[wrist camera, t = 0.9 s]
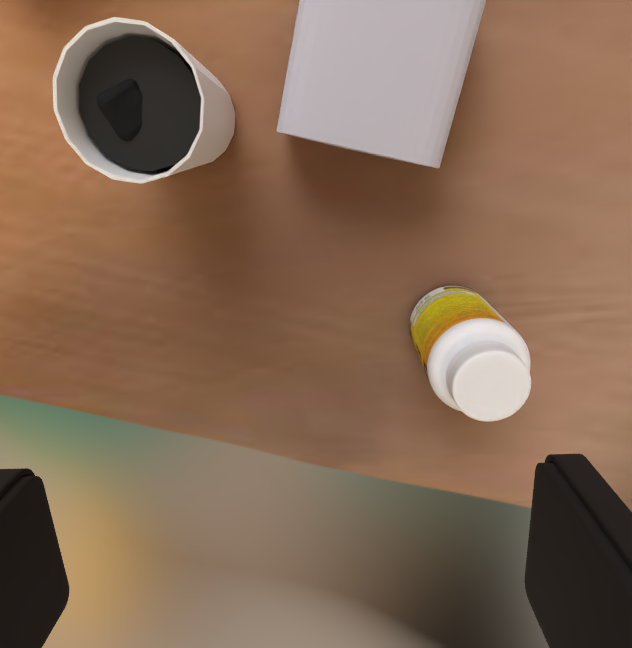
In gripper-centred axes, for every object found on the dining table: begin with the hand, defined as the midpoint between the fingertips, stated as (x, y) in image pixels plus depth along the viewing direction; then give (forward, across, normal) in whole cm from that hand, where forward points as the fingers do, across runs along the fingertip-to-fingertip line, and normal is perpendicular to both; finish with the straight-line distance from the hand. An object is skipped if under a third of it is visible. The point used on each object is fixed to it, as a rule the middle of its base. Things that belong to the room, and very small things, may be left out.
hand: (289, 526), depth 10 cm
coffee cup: (+26, +8, -9) cm, 29 cm away
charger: (+26, -4, -14) cm, 30 cm away
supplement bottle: (+26, -9, +5) cm, 28 cm away
